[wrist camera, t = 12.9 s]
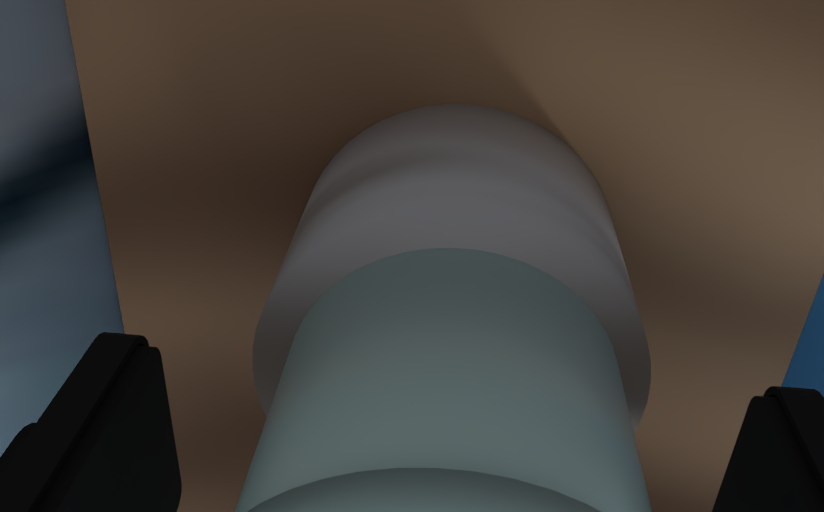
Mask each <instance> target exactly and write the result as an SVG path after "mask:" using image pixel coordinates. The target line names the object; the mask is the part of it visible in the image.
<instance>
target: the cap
mask: <svg viewBox="0 0 824 512" xmlns="http://www.w3.org/2000/svg"><path fill="white" fill-rule="evenodd" d="M235 512H652V511H651V506H650V502H649V498H648V493H647V489H646V484H645V480H644V476H643V471H642V467H641V463H640V458H639V454H638V449H637V445H636V441H635V436H634V432H633V428H632V423H631V419H630V415H629V410H628V406H627V401H626V397H625V393H624V388H623V384H622V380H621V375H620V371H619V366H618V362H617V358H616V355H615V352H614V348H613V345H612V342H611V340H610V338H609V336H608V334H607V332H606V330H605V328H604V326H603V325H602V323H601V322H600V320H599V319H598V317H597V316H596V315H595V313H594V312H593V310H592V309H591V308H590V307H589V306H588V305H587V304H586V303H585V302H584V301H583V300H582V299H581V298H580V297H579V296H578V295H577V294H576V293H575V292H573V291H572V290H571V289H570V288H568V287H567V286H566V285H565V284H563V283H562V282H561V281H559V280H557V279H556V278H554V277H552V276H551V275H549V274H547V273H546V272H544V271H542V270H540V269H538V268H536V267H533V266H531V265H529V264H527V263H525V262H522V261H519V260H516V259H513V258H510V257H507V256H503V255H500V254H496V253H490V252H485V251H480V250H473V249H460V248H432V249H422V250H416V251H409V252H403V253H400V254H396V255H392V256H389V257H385V258H382V259H379V260H377V261H374V262H372V263H369V264H367V265H365V266H362V267H360V268H359V269H357V270H355V271H353V272H352V273H350V274H348V275H346V276H345V277H343V278H342V279H340V280H339V281H338V282H336V283H335V284H334V285H332V286H331V287H330V288H329V289H327V290H326V291H325V292H324V293H323V294H322V295H321V296H320V297H319V299H318V300H317V301H316V302H315V303H314V304H313V305H312V307H311V308H310V309H309V311H308V312H307V314H306V315H305V316H304V318H303V320H302V322H301V324H300V326H299V328H298V330H297V332H296V334H295V337H294V340H293V343H292V345H291V348H290V351H289V354H288V357H287V360H286V363H285V366H284V369H283V372H282V375H281V378H280V380H279V383H278V386H277V389H276V392H275V395H274V398H273V401H272V404H271V407H270V410H269V413H268V415H267V418H266V421H265V424H264V427H263V430H262V433H261V436H260V439H259V442H258V445H257V448H256V450H255V453H254V456H253V459H252V462H251V465H250V468H249V471H248V474H247V477H246V480H245V483H244V486H243V488H242V491H241V494H240V497H239V500H238V503H237V506H236V509H235Z"/></svg>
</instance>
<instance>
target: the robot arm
mask: <svg viewBox="0 0 824 512" xmlns="http://www.w3.org/2000/svg"><path fill="white" fill-rule="evenodd" d="M181 492H182V482H181V475H180V469H179V463H178V457H177V451H176V444H175V438H174V432H173V426H172V419H171V413H170V407H169V401H168V395H167V388H166V382H165V376H164V370H163V364H162V357H161V353H160V350H159V349H158V348H157V347H150V346H149V343H148V340H147V339H146V337H145V336H142V335H132V334H119V333H107V332H103V333H101V334H99V335H98V336H97V337H96V338H95V340H94V341H93V343H92V344H91V345H90V347H89V348H88V350H87V351H86V353H85V354H84V355H83V357H82V358H81V360H80V361H79V363H78V364H77V365H76V367H75V368H74V370H73V371H72V373H71V374H70V375H69V377H68V378H67V380H66V381H65V383H64V384H63V386H62V387H61V388H60V390H59V391H58V393H57V394H56V396H55V397H54V398H53V400H52V401H51V403H50V404H49V406H48V407H47V408H46V410H45V411H44V413H43V414H42V416H41V417H40V418H39V420H38V421H37V423H31V424H29V425H27V426H25V427H24V428H23V429H22V430H21V431H20V432H19V433H18V434H17V435H16V436H15V438H14V439H13V441H12V442H11V443H10V445H9V446H8V448H7V449H6V450H5V452H4V453H3V455H2V456H1V457H0V512H177V509H178V506H179V503H180V499H181ZM712 512H824V398H823V396H822V395H821V394H820V392H818V391H816V390H815V389H803V388H791V387H778V386H772V387H769V388H768V389H767V390H766V391H765V393H764V395H763V396H754V397H753V398H752V399H751V401H750V403H749V405H748V408H747V411H746V414H745V417H744V420H743V423H742V426H741V428H740V431H739V434H738V437H737V440H736V443H735V446H734V449H733V452H732V454H731V457H730V460H729V463H728V466H727V469H726V472H725V475H724V478H723V480H722V483H721V486H720V489H719V492H718V495H717V498H716V501H715V504H714V506H713V509H712Z"/></svg>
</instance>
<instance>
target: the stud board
mask: <svg viewBox="0 0 824 512" xmlns="http://www.w3.org/2000/svg"><path fill="white" fill-rule="evenodd" d="M64 1H65V6H66V12H67V17H68V23H69V28H70V34H71V39H72V45H73V50H74V56H75V61H76V67H77V72H78V78H79V83H80V89H81V94H82V100H83V106H84V111H85V117H86V122H87V128H88V133H89V139H90V144H91V150H92V155H93V161H94V166H95V172H96V177H97V183H98V188H99V194H100V199H101V205H102V210H103V216H104V221H105V227H106V232H107V238H108V243H109V249H110V254H111V260H112V266H113V271H114V277H115V282H116V288H117V293H118V299H119V304H120V310H121V315H122V321H123V326H124V332H125V334H132V335H142V336H145V337H146V339H147V340H148V343H149V346H150V347H157V348H158V349H159V350H160V353H161V357H162V364H163V370H164V376H165V382H166V388H167V395H168V401H169V407H170V413H171V419H172V426H173V432H174V438H175V444H176V451H177V457H178V463H179V469H180V475H181V482H182V492H181V499H180V503H179V506H178V509H177V512H235V509H236V506H237V503H238V500H239V497H240V494H241V491H242V488H243V486H244V483H245V480H246V477H247V474H248V471H249V468H250V465H251V462H252V459H253V456H254V453H255V450H256V448H257V445H258V442H259V439H260V436H261V433H262V430H263V427H264V424H265V421H266V418H267V415H268V413H269V410H270V407H271V404H272V401H273V398H274V395H275V392H276V389H277V386H278V383H279V380H280V378H281V375H282V372H283V369H284V366H285V363H286V360H287V357H288V354H289V351H290V348H291V345H292V343H293V340H294V337H295V334H296V332H297V330H298V328H299V326H300V324H301V322H302V320H303V318H304V316H305V315H306V314H307V312H308V311H309V309H310V308H311V307H312V305H313V304H314V303H315V302H316V301H317V300H318V299H319V297H320V296H321V295H322V294H323V293H324V292H325V291H326V290H327V289H329V288H330V287H331V286H332V285H334V284H335V283H336V282H338V281H339V280H340V279H342V278H343V277H345V276H346V275H348V274H350V273H352V272H353V271H355V270H357V269H359V268H360V267H362V266H365V265H367V264H369V263H372V262H374V261H377V260H379V259H382V258H385V257H389V256H392V255H396V254H400V253H403V252H409V251H416V250H422V249H432V248H460V249H473V250H480V251H485V252H490V253H496V254H500V255H503V256H507V257H510V258H513V259H516V260H519V261H522V262H525V263H527V264H529V265H531V266H533V267H536V268H538V269H540V270H542V271H544V272H546V273H547V274H549V275H551V276H552V277H554V278H556V279H557V280H559V281H561V282H562V283H563V284H565V285H566V286H567V287H568V288H570V289H571V290H572V291H573V292H575V293H576V294H577V295H578V296H579V297H580V298H581V299H582V300H583V301H584V302H585V303H586V304H587V305H588V306H589V307H590V308H591V309H592V310H593V312H594V313H595V315H596V316H597V317H598V319H599V320H600V322H601V323H602V325H603V326H604V328H605V330H606V332H607V334H608V336H609V338H610V340H611V342H612V345H613V348H614V352H615V355H616V358H617V362H618V366H619V371H620V375H621V380H622V384H623V388H624V393H625V397H626V401H627V406H628V410H629V415H630V419H631V423H632V428H633V432H634V436H635V441H636V445H637V449H638V454H639V458H640V463H641V467H642V471H643V476H644V480H645V484H646V489H647V493H648V498H649V502H650V506H651V511H652V512H712V509H713V506H714V504H715V501H716V498H717V495H718V492H719V489H720V486H721V483H722V480H723V478H724V475H725V472H726V469H727V466H728V463H729V460H730V457H731V454H732V452H733V449H734V446H735V443H736V440H737V437H738V434H739V431H740V428H741V426H742V423H743V420H744V417H745V414H746V411H747V408H748V405H749V403H750V401H751V399H752V398H753V397H754V396H763V395H764V393H765V391H766V390H767V389H768V388H769V387H772V386H778V387H781V385H782V383H783V380H784V377H785V375H786V372H787V369H788V367H789V364H790V361H791V359H792V356H793V354H794V351H795V348H796V346H797V343H798V340H799V338H800V335H801V332H802V330H803V327H804V324H805V322H806V319H807V316H808V314H809V311H810V308H811V306H812V303H813V300H814V298H815V295H816V292H817V290H818V287H819V284H820V282H821V279H822V277H823V274H824V0H64Z"/></svg>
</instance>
